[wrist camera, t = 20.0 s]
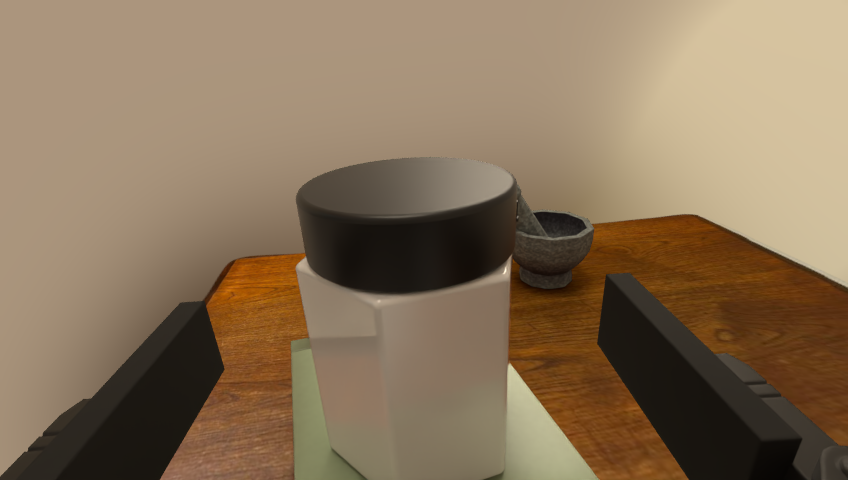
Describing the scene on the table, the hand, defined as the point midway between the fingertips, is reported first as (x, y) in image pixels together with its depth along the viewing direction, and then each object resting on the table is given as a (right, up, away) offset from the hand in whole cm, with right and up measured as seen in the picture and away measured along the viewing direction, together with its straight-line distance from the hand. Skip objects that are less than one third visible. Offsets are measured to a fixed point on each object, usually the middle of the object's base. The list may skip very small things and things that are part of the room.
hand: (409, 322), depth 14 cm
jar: (+1, -6, +6) cm, 9 cm away
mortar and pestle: (+15, -2, +38) cm, 40 cm away
